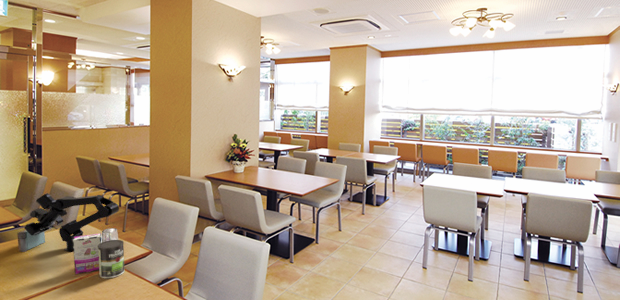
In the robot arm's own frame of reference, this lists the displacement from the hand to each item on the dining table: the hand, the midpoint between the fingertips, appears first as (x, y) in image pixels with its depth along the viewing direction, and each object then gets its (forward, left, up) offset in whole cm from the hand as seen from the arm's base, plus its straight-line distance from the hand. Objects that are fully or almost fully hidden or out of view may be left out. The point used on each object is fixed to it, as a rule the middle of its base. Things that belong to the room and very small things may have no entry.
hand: (36, 234), depth 188 cm
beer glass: (-48, -9, -7) cm, 49 cm away
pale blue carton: (+2, +2, -7) cm, 7 cm away
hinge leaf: (+1, +1, -7) cm, 7 cm away
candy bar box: (-50, +3, -7) cm, 51 cm away
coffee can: (-62, 0, -7) cm, 62 cm away
